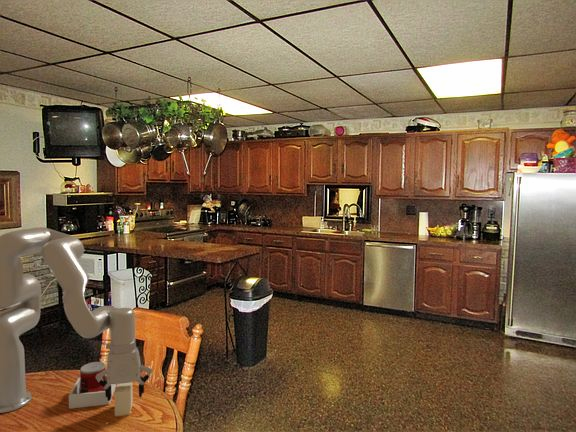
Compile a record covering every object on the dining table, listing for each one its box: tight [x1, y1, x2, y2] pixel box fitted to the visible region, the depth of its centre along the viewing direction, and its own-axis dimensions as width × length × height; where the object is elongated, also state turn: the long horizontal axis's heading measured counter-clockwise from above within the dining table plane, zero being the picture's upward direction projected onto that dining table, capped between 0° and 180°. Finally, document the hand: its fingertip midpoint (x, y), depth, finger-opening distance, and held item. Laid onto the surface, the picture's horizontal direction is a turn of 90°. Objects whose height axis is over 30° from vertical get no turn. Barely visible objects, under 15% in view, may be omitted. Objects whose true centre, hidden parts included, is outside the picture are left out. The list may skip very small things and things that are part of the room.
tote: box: [68, 374, 117, 409], centre depth 140 cm, size 12×12×4 cm
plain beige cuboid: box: [113, 382, 134, 417], centre depth 133 cm, size 4×7×8 cm, turn 14°
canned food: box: [79, 361, 107, 393], centre depth 140 cm, size 8×8×11 cm
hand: (125, 396), depth 133 cm, fingers open, 9 cm apart
